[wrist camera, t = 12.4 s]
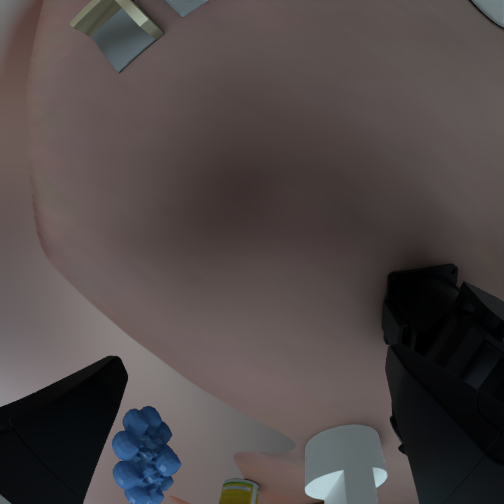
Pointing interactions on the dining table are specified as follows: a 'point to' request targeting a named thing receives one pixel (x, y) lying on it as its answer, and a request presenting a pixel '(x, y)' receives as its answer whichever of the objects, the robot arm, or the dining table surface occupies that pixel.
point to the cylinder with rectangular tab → (345, 465)
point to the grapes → (144, 457)
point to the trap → (117, 29)
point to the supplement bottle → (239, 492)
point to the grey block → (185, 5)
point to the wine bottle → (492, 9)
